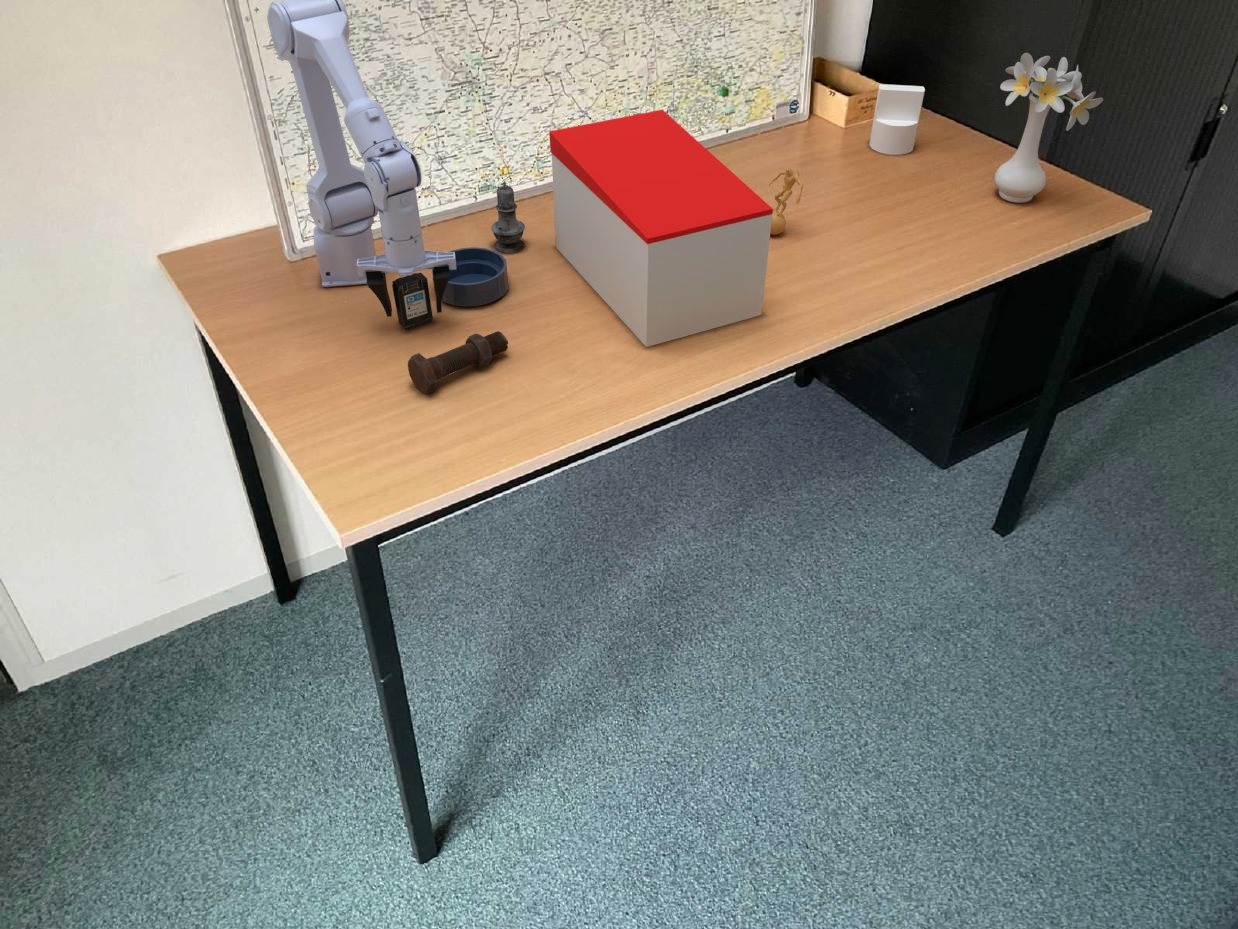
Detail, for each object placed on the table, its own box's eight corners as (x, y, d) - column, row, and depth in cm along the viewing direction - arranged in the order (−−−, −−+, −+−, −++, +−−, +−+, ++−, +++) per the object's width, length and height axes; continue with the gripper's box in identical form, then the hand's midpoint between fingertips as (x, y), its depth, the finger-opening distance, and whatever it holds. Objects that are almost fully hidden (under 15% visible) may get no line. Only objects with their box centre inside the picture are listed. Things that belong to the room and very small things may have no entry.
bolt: (507, 363, 152) (422, 399, 145) (489, 337, 153) (404, 371, 146) (517, 343, 147) (430, 379, 140) (499, 316, 148) (411, 351, 141)
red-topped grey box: (658, 221, 183) (661, 108, 170) (761, 314, 159) (774, 192, 146) (554, 246, 176) (548, 130, 163) (645, 347, 152) (647, 221, 139)
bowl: (435, 311, 160) (432, 287, 157) (435, 273, 169) (431, 249, 166) (510, 305, 162) (508, 281, 159) (506, 268, 171) (504, 244, 168)
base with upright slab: (869, 153, 206) (879, 94, 198) (868, 135, 212) (878, 78, 205) (914, 156, 205) (926, 97, 197) (912, 138, 211) (923, 80, 203)
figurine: (750, 226, 182) (756, 163, 174) (777, 218, 184) (784, 155, 176) (778, 245, 176) (785, 181, 169) (805, 237, 179) (814, 173, 171)
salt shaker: (521, 255, 174) (516, 190, 166) (488, 251, 175) (482, 187, 167) (530, 239, 178) (525, 175, 171) (498, 236, 179) (492, 172, 171)
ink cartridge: (404, 331, 156) (397, 286, 151) (398, 324, 157) (391, 280, 152) (433, 321, 158) (427, 277, 153) (427, 315, 159) (420, 270, 154)
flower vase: (1044, 224, 182) (1085, 86, 166) (958, 190, 193) (989, 56, 176) (1082, 203, 189) (1126, 67, 172) (997, 170, 199) (1030, 40, 183)
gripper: (349, 248, 144) (365, 329, 152) (452, 241, 145) (462, 321, 154) (352, 225, 149) (368, 304, 158) (451, 218, 150) (460, 297, 159)
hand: (414, 311), depth 156 cm, fingers open, 7 cm apart
